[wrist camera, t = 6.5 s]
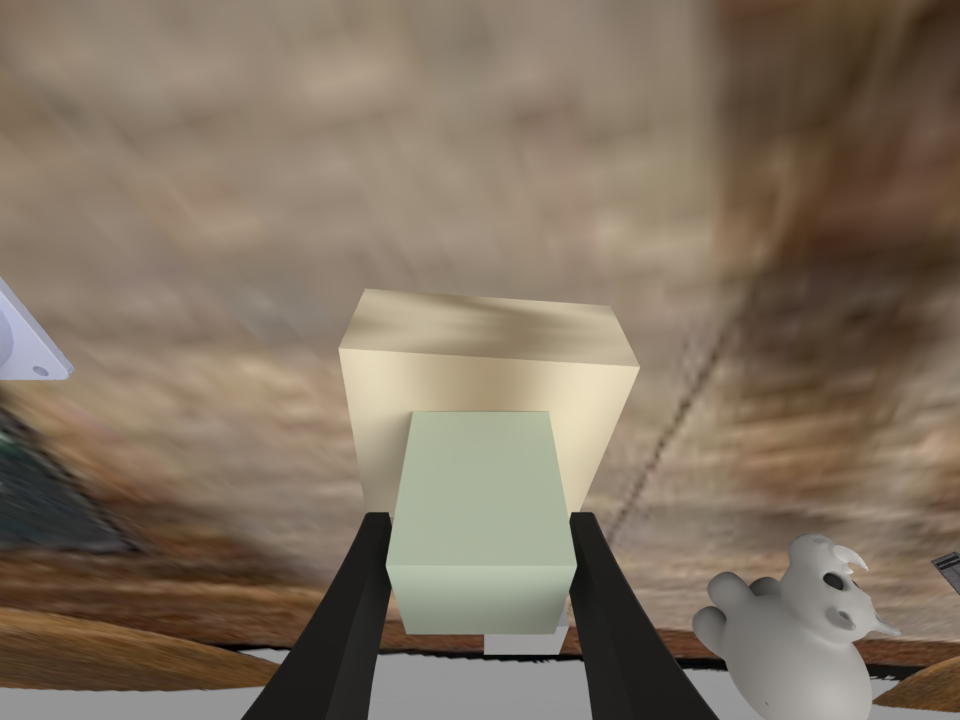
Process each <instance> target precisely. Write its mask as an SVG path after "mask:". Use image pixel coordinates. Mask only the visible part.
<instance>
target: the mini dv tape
mask: <svg viewBox="0 0 960 720" xmlns="http://www.w3.org/2000/svg"><path fill="white" fill-rule="evenodd" d="M931 563H932V564H933V565H934V566H935V567H936V568H937V570H938V571H939V572H940V573H941V574H942V575H943V577H944V578H945V579H946V580H947V581H948V582H949V584H950V585H951V586H952V587H953V588H954V589H955V591H956V592H957V593H958V594H959V595H960V553H958V552H952V553H950V554H947V555H945V556H942V557H940V558H937V559H935V560H932V561H931Z"/></svg>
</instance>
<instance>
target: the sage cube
mask: <svg viewBox="0 0 960 720" xmlns="http://www.w3.org/2000/svg"><path fill="white" fill-rule="evenodd" d="M386 568H387V572H388V575H389V578H390V582H391V585H392V588H393V591H394V595H395V598H396V601H397V604H398V608H399V611H400V614H401V618H402V621H403V624H404V627H405V631H406V634H555V632H556V629H557V626H558V623H559V619H560V616H561V613H562V610H563V607H564V604H565V601H566V598H567V595H568V592H569V589H570V586H571V583H572V580H573V577H574V574H575V571H576V568H577V562H576V557H575V552H574V546H573V541H572V535H571V530H570V524H569V519H568V513H567V508H566V502H565V497H564V491H563V486H562V480H561V475H560V469H559V464H558V458H557V453H556V448H555V442H554V437H553V431H552V426H551V420H550V415H549V412H426V411H413V414H412V419H411V425H410V431H409V436H408V442H407V448H406V453H405V459H404V465H403V470H402V476H401V482H400V487H399V493H398V499H397V504H396V510H395V516H394V521H393V527H392V533H391V538H390V544H389V550H388V555H387V561H386Z"/></svg>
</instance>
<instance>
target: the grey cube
mask: <svg viewBox="0 0 960 720" xmlns="http://www.w3.org/2000/svg"><path fill="white" fill-rule="evenodd" d="M568 628H569V624H568V617H567V610H566V604H564V607H563V610H562V613H561V616H560V619H559V623H558V626H557V629H556V632H555V634H484V655H559V652H560V650H561V647H562V644H563V641H564V639H565V636H566V633H567V631H568Z"/></svg>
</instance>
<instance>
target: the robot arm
mask: <svg viewBox="0 0 960 720" xmlns="http://www.w3.org/2000/svg"><path fill="white" fill-rule="evenodd" d="M74 372H75V369H74V367H73V365H72V364H71V363H70V361H69V360H68V359H67V358H66V356H65V355H64V354H63V353H62V351H61V350H60V349H59V348H58V346H57V345H56V344H55V343H54V342H53V340H52V339H51V338H50V337H49V335H48V334H47V333H46V332H45V330H44V329H43V328H42V327H41V325H40V324H39V323H38V322H37V320H36V319H35V318H34V317H33V316H32V314H31V313H30V312H29V311H28V309H27V308H26V307H25V306H24V304H23V303H22V302H21V301H20V299H19V298H18V297H17V296H16V294H15V293H14V292H13V291H12V290H11V288H10V287H9V286H8V285H7V283H6V282H5V281H4V280H3V278H2V277H1V276H0V380H65V379H67V378H69V377H70V376H71V375H72V374H73V373H74ZM569 524H570V530H571V535H572V541H573V546H574V552H575V557H576V562H577V568H576V571H575V574H574V577H573V580H572V583H571V586H570V589H569V594H570V599H571V604H572V609H573V614H574V618H575V623H576V628H577V632H578V637H579V642H580V647H581V651H582V656H583V661H584V666H585V671H586V677H587V683H588V690H589V698H590V706H591V713H592V720H720V719H719V718H718V717H717V715H716V714H715V713H714V712H713V710H712V709H711V708H710V706H709V705H708V704H707V703H706V701H705V700H704V699H703V697H702V696H701V695H700V693H699V692H698V690H697V689H696V688H695V686H694V685H693V684H692V682H691V681H690V679H689V678H688V677H687V675H686V674H685V672H684V671H683V670H682V668H681V667H680V665H679V664H678V662H677V661H676V659H675V658H674V656H673V655H672V654H671V652H670V651H669V649H668V648H667V646H666V644H665V643H664V641H663V640H662V638H661V637H660V635H659V634H658V632H657V631H656V629H655V627H654V626H653V624H652V622H651V621H650V619H649V618H648V616H647V614H646V613H645V611H644V609H643V608H642V606H641V604H640V603H639V601H638V599H637V598H636V596H635V594H634V592H633V590H632V589H631V587H630V585H629V583H628V582H627V580H626V578H625V576H624V574H623V573H622V571H621V569H620V567H619V565H618V563H617V561H616V559H615V557H614V555H613V553H612V551H611V549H610V547H609V545H608V543H607V541H606V539H605V537H604V535H603V533H602V530H601V528H600V526H599V524H598V521H597V519H596V517H595V514H594V513H592V512H571V516H570V520H569ZM391 533H392V524H391V520H390V516H389V512H368V513H366V514H365V516H364V519H363V521H362V524H361V526H360V528H359V530H358V532H357V535H356V537H355V539H354V541H353V543H352V545H351V547H350V549H349V551H348V553H347V555H346V557H345V559H344V561H343V563H342V565H341V567H340V569H339V570H338V572H337V574H336V576H335V578H334V580H333V581H332V583H331V585H330V587H329V589H328V591H327V592H326V594H325V596H324V597H323V599H322V601H321V602H320V604H319V606H318V607H317V609H316V611H315V612H314V614H313V616H312V617H311V619H310V621H309V622H308V624H307V626H306V627H305V629H304V630H303V632H302V634H301V635H300V637H299V638H298V640H297V641H296V643H295V644H294V646H293V647H292V649H291V650H290V652H289V653H288V655H287V656H286V658H285V659H284V661H283V662H282V664H281V665H280V667H279V668H278V669H277V671H276V672H275V674H274V675H273V676H272V678H271V679H270V681H269V682H268V683H267V685H266V686H265V687H264V689H263V690H262V692H261V693H260V694H259V696H258V697H257V699H256V700H255V701H254V703H253V704H252V705H251V706H250V708H249V709H248V710H247V712H246V713H245V714H244V716H243V717H242V718H241V720H368V713H369V706H370V698H371V691H372V683H373V677H374V672H375V666H376V661H377V656H378V651H379V647H380V642H381V637H382V633H383V628H384V623H385V618H386V614H387V609H388V604H389V599H390V595H391V590H392V585H391V582H390V578H389V575H388V572H387V568H386V561H387V555H388V550H389V544H390V538H391Z"/></svg>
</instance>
